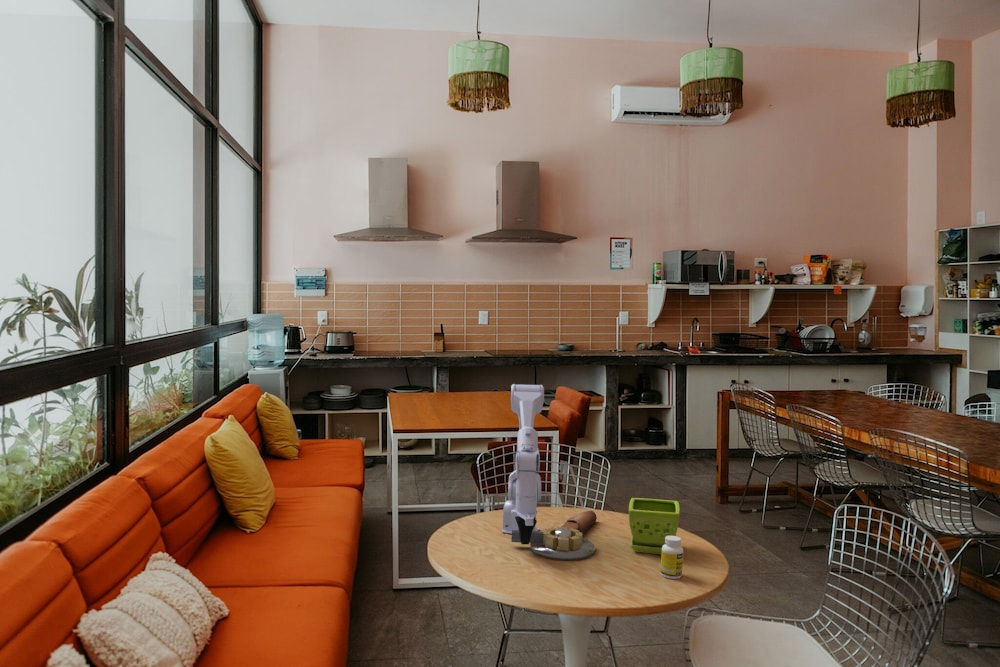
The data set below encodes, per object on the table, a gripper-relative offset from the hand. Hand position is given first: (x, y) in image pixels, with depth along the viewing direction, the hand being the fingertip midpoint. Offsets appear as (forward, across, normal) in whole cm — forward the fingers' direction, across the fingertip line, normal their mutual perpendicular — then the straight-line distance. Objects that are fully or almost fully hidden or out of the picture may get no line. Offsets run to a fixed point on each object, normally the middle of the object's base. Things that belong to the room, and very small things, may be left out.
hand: (524, 543), depth 199 cm
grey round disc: (+2, -2, +11) cm, 12 cm away
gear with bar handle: (+1, -3, +7) cm, 7 cm away
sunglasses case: (+3, -21, +19) cm, 28 cm away
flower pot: (+3, -2, +37) cm, 37 cm away
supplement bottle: (+3, +17, +36) cm, 40 cm away
